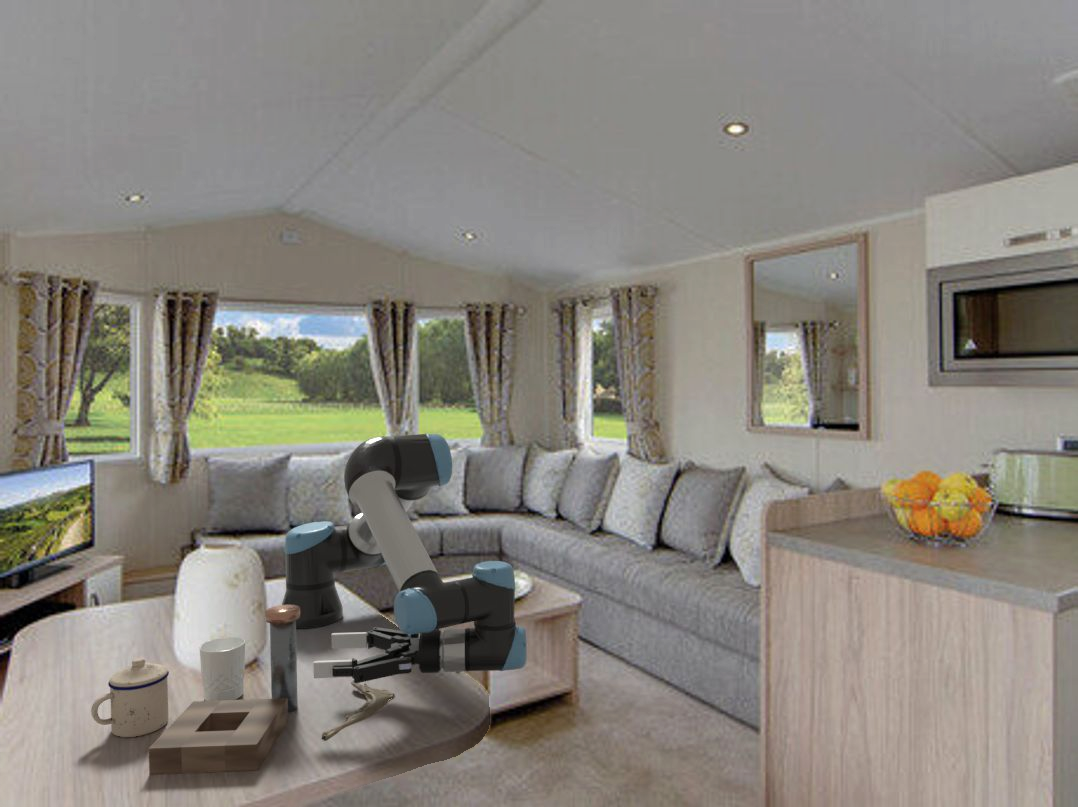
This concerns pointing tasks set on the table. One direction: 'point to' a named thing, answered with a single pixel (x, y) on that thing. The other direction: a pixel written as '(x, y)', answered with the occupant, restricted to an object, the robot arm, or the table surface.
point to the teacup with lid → (136, 699)
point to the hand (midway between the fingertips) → (323, 654)
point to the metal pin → (283, 652)
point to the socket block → (219, 736)
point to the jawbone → (372, 706)
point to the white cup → (223, 668)
